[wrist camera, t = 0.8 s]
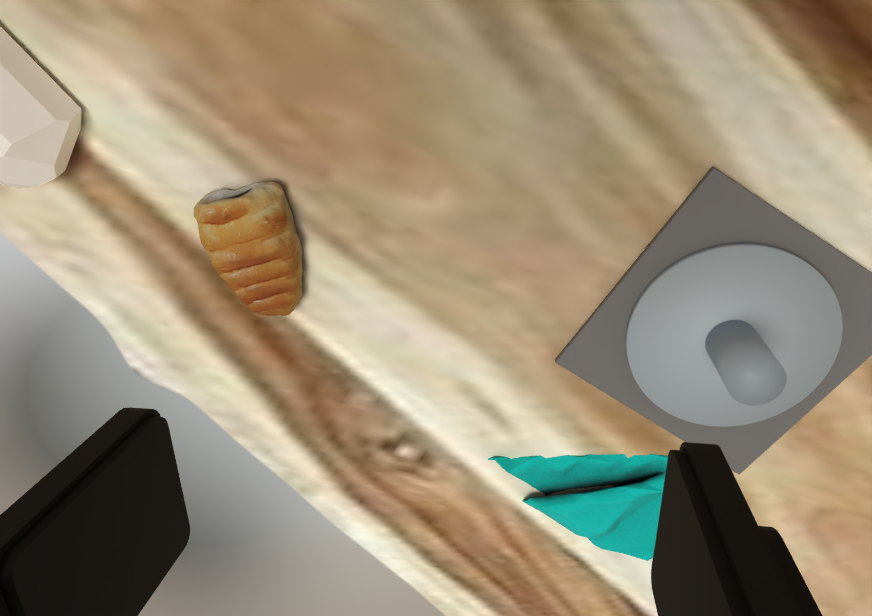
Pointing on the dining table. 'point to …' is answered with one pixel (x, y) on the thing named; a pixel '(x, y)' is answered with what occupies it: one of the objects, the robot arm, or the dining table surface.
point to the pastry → (254, 245)
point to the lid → (733, 334)
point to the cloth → (599, 496)
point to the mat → (689, 232)
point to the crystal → (32, 120)
